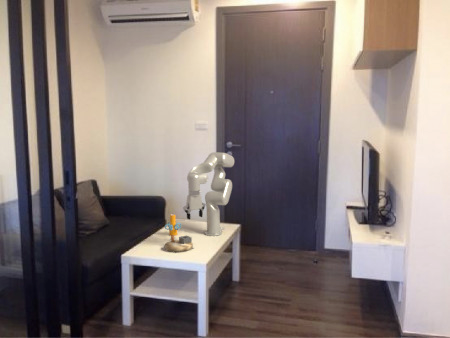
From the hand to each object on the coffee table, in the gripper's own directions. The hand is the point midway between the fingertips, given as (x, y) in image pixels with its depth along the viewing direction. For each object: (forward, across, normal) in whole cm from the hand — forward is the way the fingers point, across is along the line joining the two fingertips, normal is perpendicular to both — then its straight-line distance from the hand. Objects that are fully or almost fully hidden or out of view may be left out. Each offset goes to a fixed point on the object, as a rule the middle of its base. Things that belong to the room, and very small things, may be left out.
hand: (194, 217), depth 289 cm
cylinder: (+19, 0, -30) cm, 35 cm away
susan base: (+18, +13, 0) cm, 23 cm away
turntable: (+18, +13, 0) cm, 23 cm away
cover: (+15, +8, 0) cm, 17 cm away
